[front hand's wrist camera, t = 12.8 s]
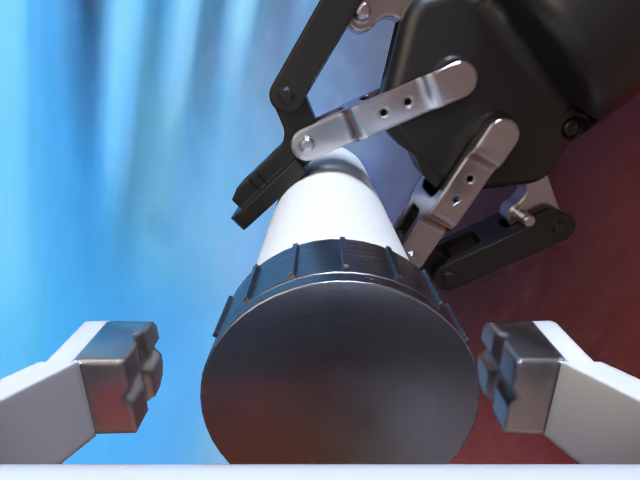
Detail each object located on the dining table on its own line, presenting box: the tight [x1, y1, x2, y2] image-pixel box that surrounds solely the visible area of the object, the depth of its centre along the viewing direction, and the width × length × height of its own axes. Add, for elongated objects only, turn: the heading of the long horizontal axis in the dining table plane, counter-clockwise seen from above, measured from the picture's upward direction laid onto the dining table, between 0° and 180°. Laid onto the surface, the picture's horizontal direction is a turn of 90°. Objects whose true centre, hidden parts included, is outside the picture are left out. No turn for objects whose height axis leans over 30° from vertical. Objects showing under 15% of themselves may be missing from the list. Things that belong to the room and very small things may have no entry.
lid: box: [200, 237, 480, 464], centre depth 9 cm, size 5×5×2 cm
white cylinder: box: [256, 147, 409, 265], centre depth 17 cm, size 5×5×17 cm
